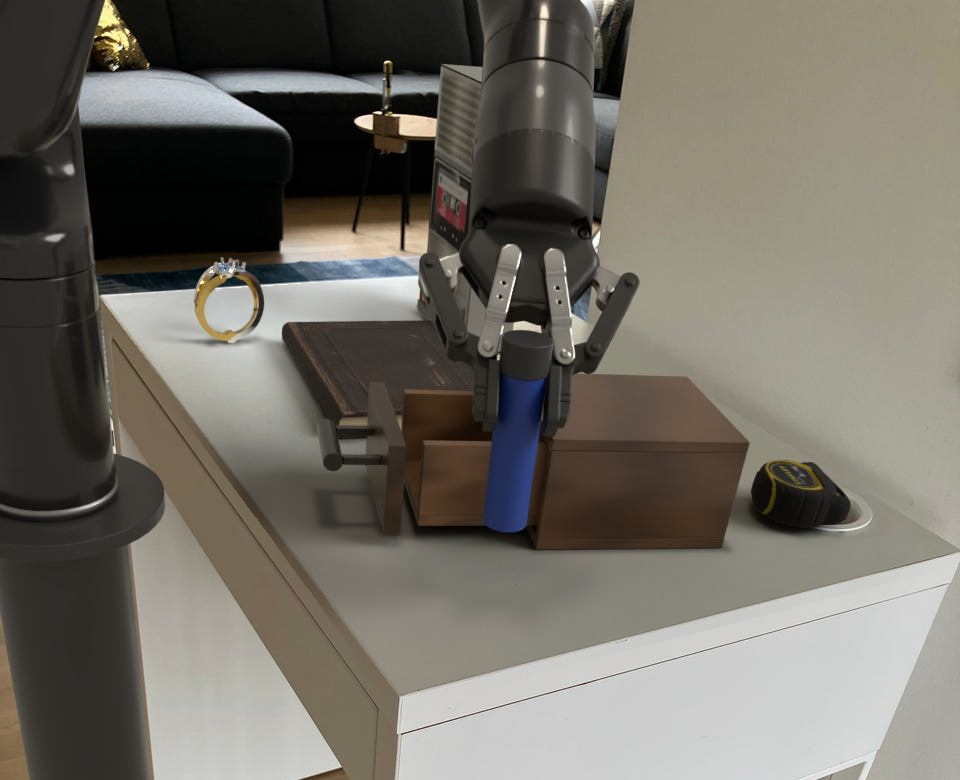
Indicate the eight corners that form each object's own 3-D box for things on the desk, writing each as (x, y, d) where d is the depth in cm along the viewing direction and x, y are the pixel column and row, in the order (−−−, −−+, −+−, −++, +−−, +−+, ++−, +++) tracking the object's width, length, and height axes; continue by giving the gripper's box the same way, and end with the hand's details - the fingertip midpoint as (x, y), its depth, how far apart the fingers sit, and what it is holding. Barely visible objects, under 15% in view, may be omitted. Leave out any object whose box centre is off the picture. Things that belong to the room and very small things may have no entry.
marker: (486, 533, 66) (508, 346, 60) (477, 511, 69) (497, 328, 62) (532, 533, 67) (559, 348, 60) (522, 510, 69) (546, 330, 63)
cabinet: (536, 549, 78) (553, 439, 73) (499, 472, 88) (512, 371, 83) (722, 548, 81) (750, 442, 76) (665, 473, 91) (687, 376, 86)
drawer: (324, 535, 74) (327, 445, 70) (312, 463, 83) (314, 380, 79) (566, 534, 78) (581, 448, 74) (529, 465, 87) (541, 386, 83)
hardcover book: (432, 341, 112) (433, 320, 111) (511, 430, 95) (514, 406, 94) (281, 344, 107) (281, 321, 106) (336, 439, 90) (337, 413, 88)
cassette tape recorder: (414, 311, 120) (432, 63, 106) (465, 311, 122) (489, 67, 108) (457, 355, 110) (483, 86, 96) (511, 353, 112) (544, 90, 98)
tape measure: (845, 537, 85) (859, 495, 82) (765, 536, 83) (777, 493, 81) (809, 497, 90) (822, 457, 88) (734, 495, 89) (745, 454, 87)
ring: (257, 333, 109) (256, 253, 104) (269, 344, 107) (269, 263, 102) (190, 339, 106) (186, 256, 101) (201, 350, 103) (197, 266, 99)
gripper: (421, 111, 61) (401, 393, 58) (661, 137, 62) (654, 415, 59) (417, 189, 68) (399, 443, 65) (631, 210, 70) (624, 461, 66)
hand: (520, 428), depth 62 cm, fingers closed on marker, 3 cm apart
